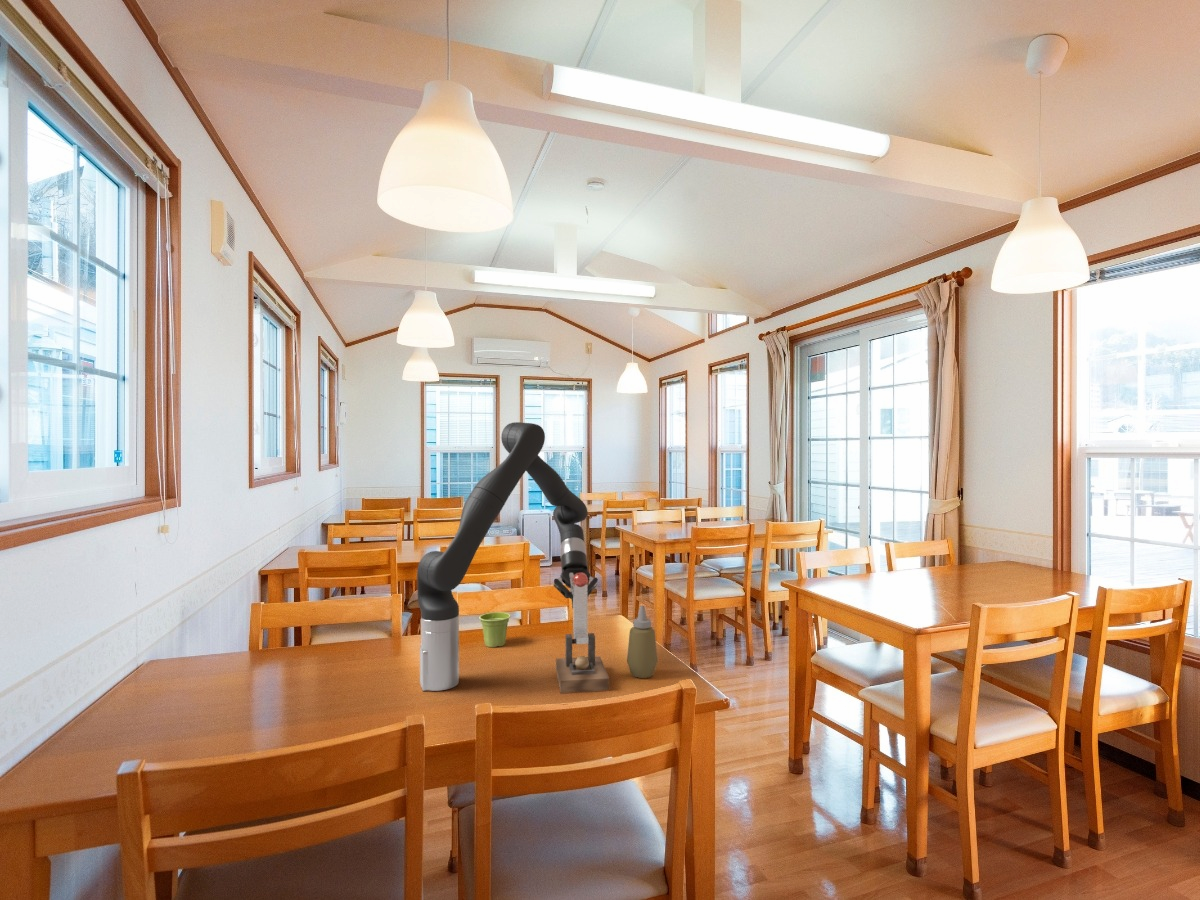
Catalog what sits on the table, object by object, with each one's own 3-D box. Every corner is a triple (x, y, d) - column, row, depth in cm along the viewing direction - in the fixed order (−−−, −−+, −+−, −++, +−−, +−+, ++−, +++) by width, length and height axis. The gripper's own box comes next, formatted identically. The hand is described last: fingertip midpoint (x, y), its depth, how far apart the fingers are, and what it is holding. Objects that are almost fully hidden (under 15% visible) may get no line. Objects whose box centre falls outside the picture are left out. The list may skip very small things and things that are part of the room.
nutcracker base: (560, 693, 147) (560, 649, 147) (556, 669, 162) (556, 630, 162) (609, 690, 148) (609, 647, 148) (600, 667, 164) (600, 628, 164)
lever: (574, 644, 153) (574, 576, 153) (571, 635, 160) (571, 571, 160) (590, 643, 153) (590, 576, 153) (586, 634, 161) (586, 570, 161)
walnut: (578, 673, 152) (578, 659, 152) (573, 668, 155) (573, 655, 155) (591, 671, 153) (591, 657, 153) (585, 666, 156) (585, 653, 156)
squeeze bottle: (658, 680, 155) (658, 610, 155) (627, 680, 155) (627, 610, 155) (656, 669, 163) (656, 602, 163) (626, 669, 163) (626, 602, 163)
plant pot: (473, 647, 181) (473, 618, 181) (488, 638, 190) (488, 611, 190) (501, 650, 178) (501, 621, 178) (515, 641, 187) (515, 613, 187)
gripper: (551, 549, 172) (554, 603, 160) (597, 548, 174) (603, 601, 162) (550, 565, 177) (552, 618, 165) (594, 564, 179) (600, 616, 167)
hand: (578, 609), depth 164 cm, fingers closed
